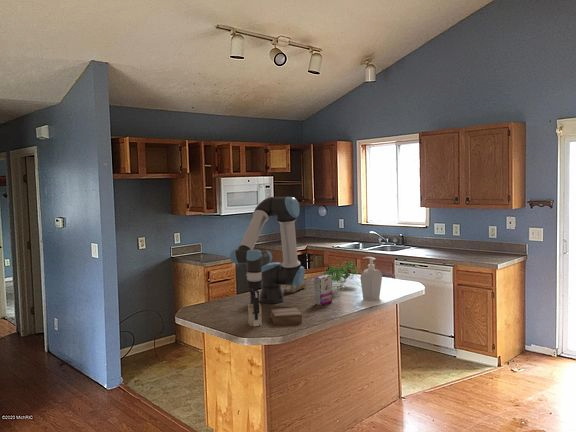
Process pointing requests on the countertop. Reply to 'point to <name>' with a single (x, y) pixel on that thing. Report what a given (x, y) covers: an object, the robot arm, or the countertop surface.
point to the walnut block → (286, 316)
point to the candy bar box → (323, 289)
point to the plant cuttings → (342, 272)
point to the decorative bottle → (294, 287)
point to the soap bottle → (371, 281)
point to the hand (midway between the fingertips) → (254, 323)
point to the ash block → (250, 315)
